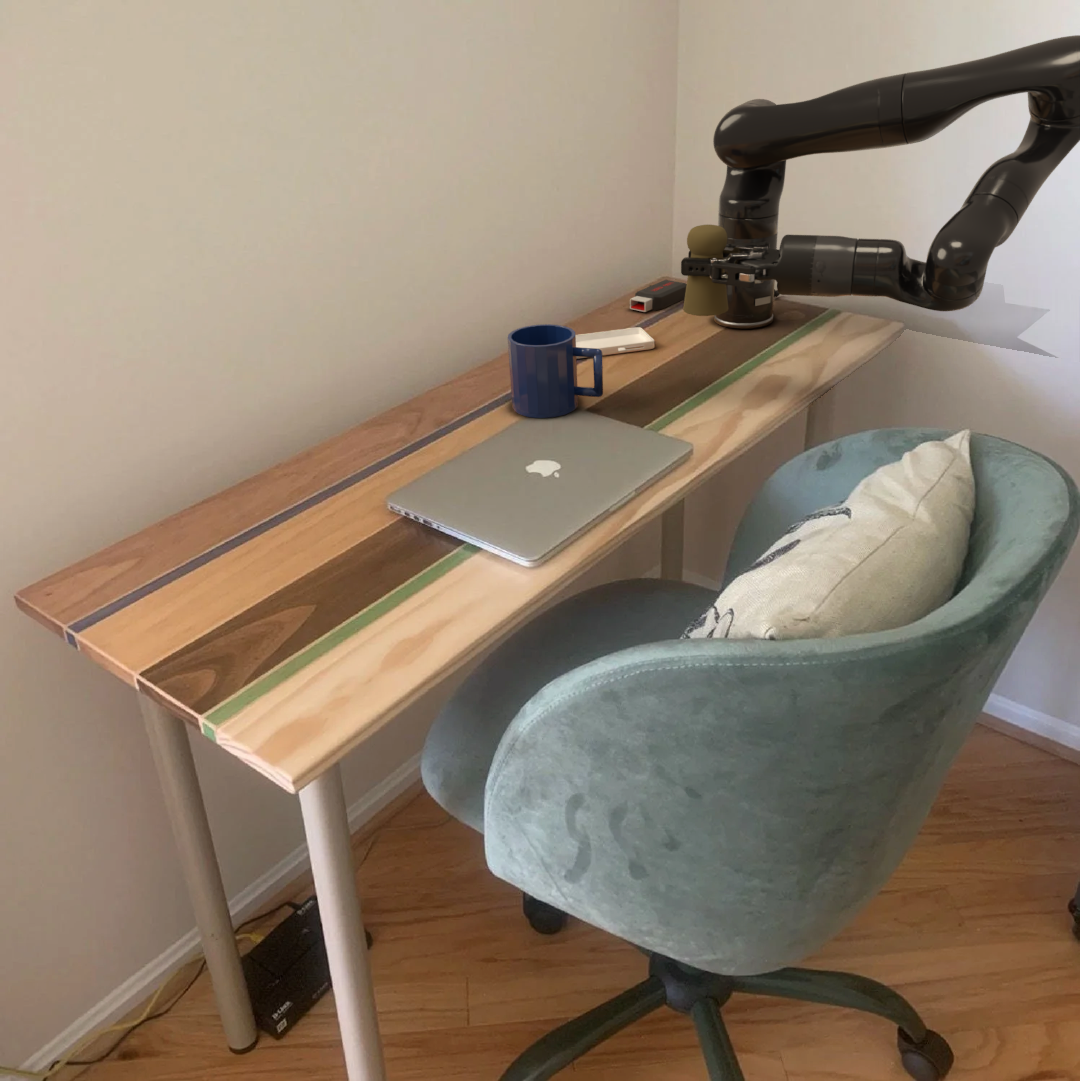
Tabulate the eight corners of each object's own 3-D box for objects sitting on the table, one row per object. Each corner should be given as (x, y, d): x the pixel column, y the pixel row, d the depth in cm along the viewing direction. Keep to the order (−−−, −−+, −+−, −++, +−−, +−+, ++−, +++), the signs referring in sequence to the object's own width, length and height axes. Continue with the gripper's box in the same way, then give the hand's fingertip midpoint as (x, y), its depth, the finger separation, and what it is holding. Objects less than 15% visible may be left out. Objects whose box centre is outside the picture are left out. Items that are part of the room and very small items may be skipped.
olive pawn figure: (726, 301, 142) (729, 219, 137) (729, 315, 137) (732, 230, 131) (682, 302, 143) (683, 221, 137) (683, 316, 137) (684, 232, 132)
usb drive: (689, 296, 182) (690, 280, 181) (650, 314, 174) (650, 298, 173) (665, 291, 185) (665, 276, 184) (625, 309, 178) (625, 293, 176)
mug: (502, 415, 140) (497, 343, 135) (525, 390, 147) (521, 322, 142) (593, 423, 136) (591, 350, 131) (612, 397, 143) (611, 327, 138)
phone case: (640, 334, 166) (549, 346, 163) (640, 326, 165) (549, 337, 162) (655, 348, 160) (561, 361, 157) (655, 340, 159) (560, 352, 156)
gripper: (809, 311, 128) (673, 305, 134) (821, 279, 140) (695, 275, 145) (813, 250, 125) (673, 246, 130) (826, 223, 136) (696, 220, 141)
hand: (686, 261), depth 138 cm, fingers closed on olive pawn figure, 4 cm apart
